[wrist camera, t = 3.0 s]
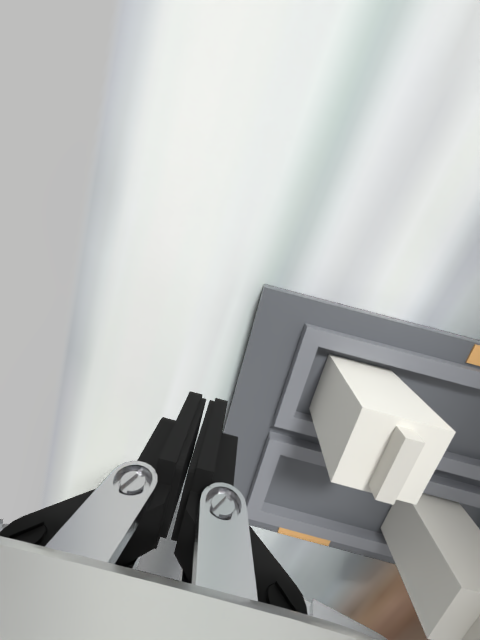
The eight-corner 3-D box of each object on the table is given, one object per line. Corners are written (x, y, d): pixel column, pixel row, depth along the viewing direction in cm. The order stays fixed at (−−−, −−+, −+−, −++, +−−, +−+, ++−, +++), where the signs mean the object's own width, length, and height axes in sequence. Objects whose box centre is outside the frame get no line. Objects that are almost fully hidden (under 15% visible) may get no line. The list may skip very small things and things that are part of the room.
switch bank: (264, 283, 18) (264, 289, 16) (623, 378, 18) (674, 396, 16) (205, 495, 23) (199, 522, 21) (489, 571, 23) (513, 606, 21)
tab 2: (402, 486, 19) (473, 607, 13) (457, 500, 19) (557, 630, 13) (380, 527, 21) (436, 660, 14) (433, 542, 20) (513, 681, 14)
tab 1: (328, 353, 17) (369, 419, 11) (391, 370, 17) (469, 445, 11) (309, 408, 18) (335, 497, 12) (367, 423, 18) (426, 521, 12)
